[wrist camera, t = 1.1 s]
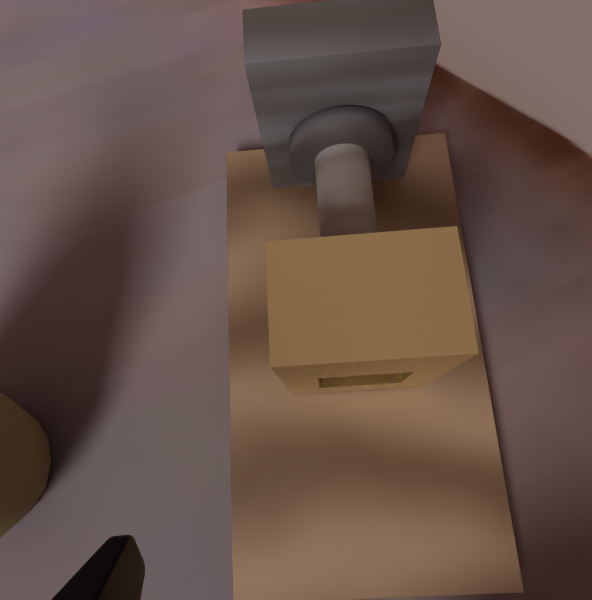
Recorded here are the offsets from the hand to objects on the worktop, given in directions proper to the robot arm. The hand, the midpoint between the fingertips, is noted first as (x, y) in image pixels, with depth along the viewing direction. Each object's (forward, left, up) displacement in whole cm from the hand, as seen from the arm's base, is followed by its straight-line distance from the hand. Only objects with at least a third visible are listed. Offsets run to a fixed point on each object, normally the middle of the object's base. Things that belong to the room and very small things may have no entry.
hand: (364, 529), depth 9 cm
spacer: (+6, -1, -12) cm, 14 cm away
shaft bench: (+6, -1, -14) cm, 15 cm away
